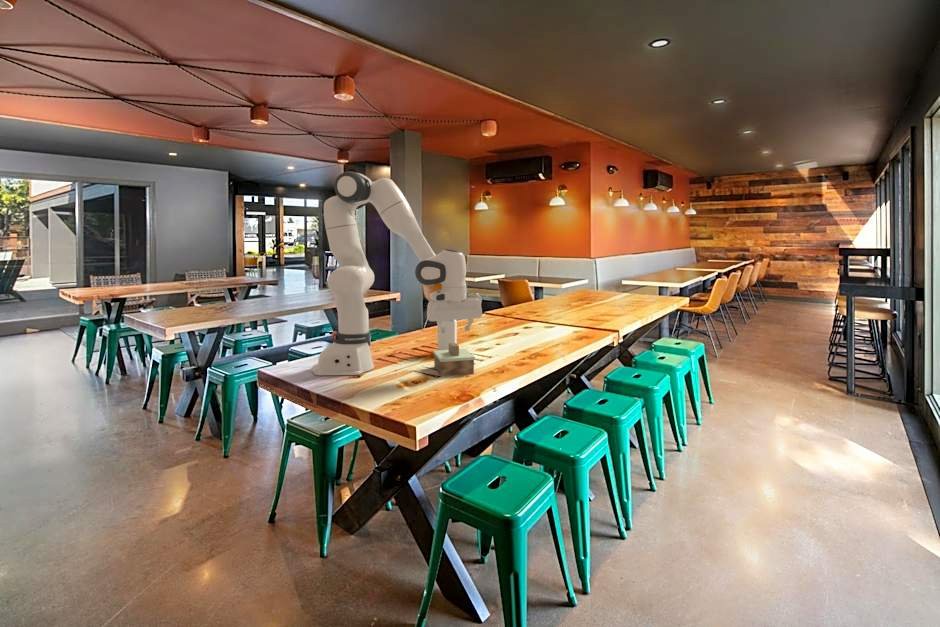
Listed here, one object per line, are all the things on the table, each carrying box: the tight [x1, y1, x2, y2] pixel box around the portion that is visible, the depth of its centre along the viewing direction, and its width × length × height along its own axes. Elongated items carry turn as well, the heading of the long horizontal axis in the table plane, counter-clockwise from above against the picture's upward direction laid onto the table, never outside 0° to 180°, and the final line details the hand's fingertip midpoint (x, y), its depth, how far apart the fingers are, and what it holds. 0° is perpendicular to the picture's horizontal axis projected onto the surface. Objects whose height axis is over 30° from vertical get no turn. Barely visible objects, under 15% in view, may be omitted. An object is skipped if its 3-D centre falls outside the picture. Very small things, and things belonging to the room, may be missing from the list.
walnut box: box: [433, 354, 475, 377], centre depth 182 cm, size 12×12×6 cm
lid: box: [433, 343, 476, 362], centre depth 181 cm, size 13×13×4 cm
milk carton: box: [437, 320, 458, 350], centre depth 206 cm, size 7×7×19 cm
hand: (454, 331), depth 180 cm, fingers open, 8 cm apart
